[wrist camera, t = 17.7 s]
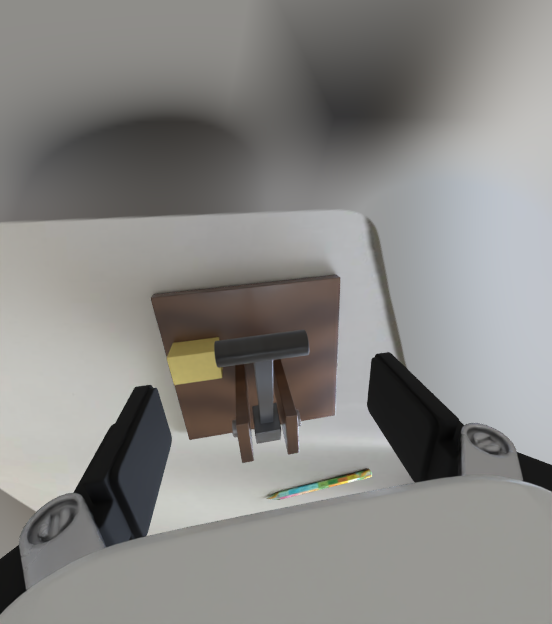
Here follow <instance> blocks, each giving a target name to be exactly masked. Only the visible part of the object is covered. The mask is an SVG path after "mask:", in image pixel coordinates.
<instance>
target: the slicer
mask: <svg viewBox="0 0 552 624" xmlns="http://www.w3.org/2000/svg"><path fill="white" fill-rule="evenodd" d="M339 300H340V277H339V276H337V275H331V276H322V277H313V278H303V279H294V280H284V281H275V282H265V283H256V284H246V285H237V286H228V287H218V288H209V289H199V290H190V291H180V292H171V293H161V294H154V295H153V296H152V297H151V301H152V305H153V308H154V312H155V316H156V319H157V323H158V327H159V330H160V334H161V338H162V341H163V345H164V349H165V352H166V356H168V354H169V351H170V349H171V346H172V344H173V343H177V342H185V341H193V340H201V339H208V338H216V337H219V340H227V339H235V338H242V337H250V336H258V335H266V334H274V333H281V332H289V331H297V330H305V331H306V333H307V336H308V340H309V354H308V355H305V356H298V357H291V358H284V359H277V360H273V403H277V407H278V413H279V419H280V424H281V425H282V429H283V434H284V438H285V443H286V448H287V452H288V454H294V453H299V440H298V426H301V421H304V420H310V419H316V418H322V417H328V416H333V415H335V407H336V380H337V354H338V327H339ZM175 389H176V392H177V396H178V400H179V403H180V407H181V411H182V414H183V418H184V421H185V425H186V429H187V432H188V436H189V440H192V439H198V438H203V437H209V436H215V435H221V434H227V433H233V436H234V437H238V441H239V447H240V453H241V459H242V463H245V462H250V461H254V457H253V445H252V432H251V429H254V419H253V410H252V406H257V405H258V397H257V388H256V379H255V370H254V363H248V364H241V365H234V366H227V367H223V375H222V378H219V379H213V380H206V381H199V382H192V383H185V384H178V385H175Z"/></svg>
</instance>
